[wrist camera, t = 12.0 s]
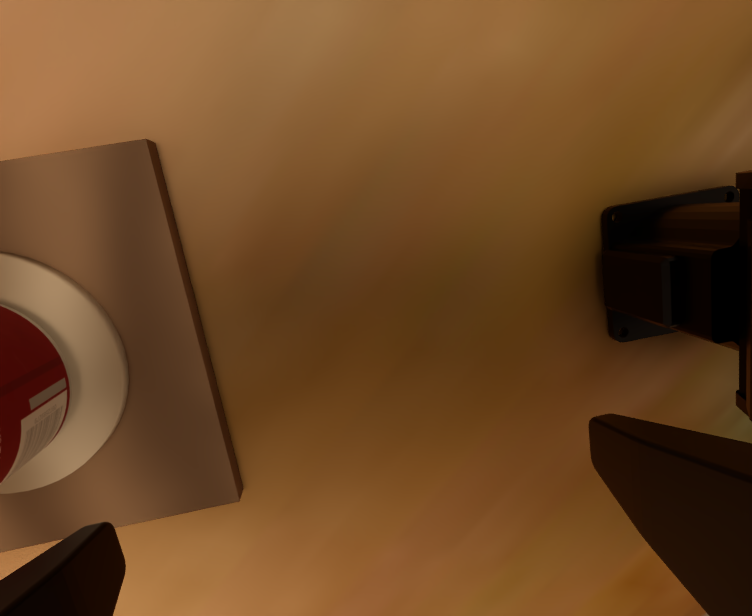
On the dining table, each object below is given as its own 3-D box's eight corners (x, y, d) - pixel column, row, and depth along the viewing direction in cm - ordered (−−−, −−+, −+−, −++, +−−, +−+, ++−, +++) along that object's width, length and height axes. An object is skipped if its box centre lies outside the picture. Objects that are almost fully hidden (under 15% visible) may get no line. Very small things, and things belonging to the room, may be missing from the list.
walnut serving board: (154, 142, 19) (137, 135, 17) (243, 488, 22) (236, 512, 21) (-271, 208, 18) (-336, 208, 16) (-109, 563, 21) (-149, 595, 19)
